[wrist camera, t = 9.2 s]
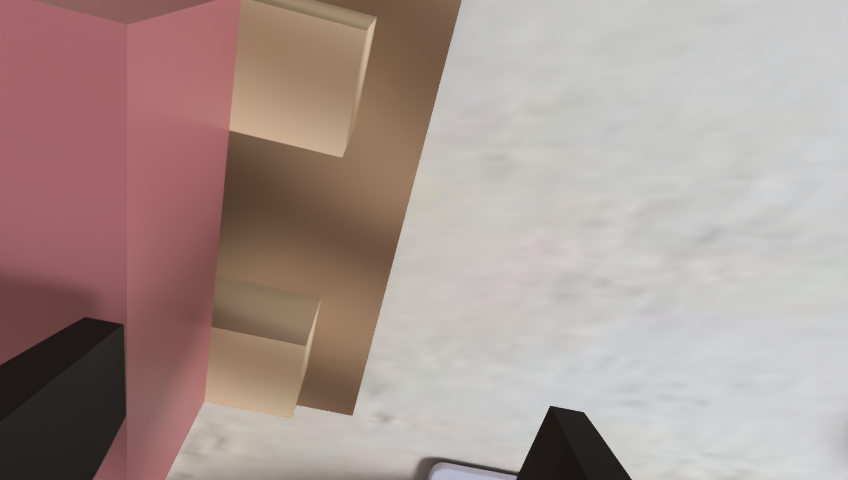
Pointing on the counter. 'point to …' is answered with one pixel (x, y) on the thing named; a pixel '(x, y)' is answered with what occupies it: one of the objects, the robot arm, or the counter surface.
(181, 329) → the pink rectangular block
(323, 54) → the stand
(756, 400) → the counter surface
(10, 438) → the robot arm
